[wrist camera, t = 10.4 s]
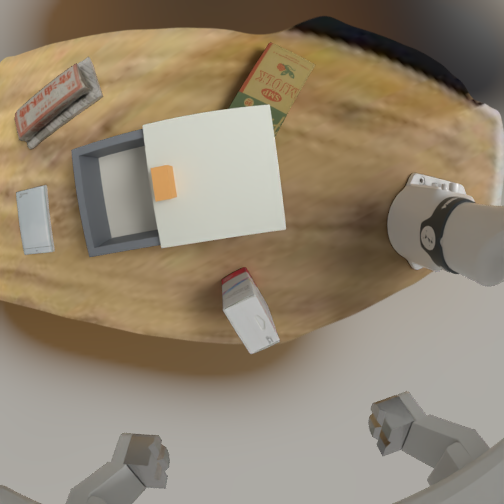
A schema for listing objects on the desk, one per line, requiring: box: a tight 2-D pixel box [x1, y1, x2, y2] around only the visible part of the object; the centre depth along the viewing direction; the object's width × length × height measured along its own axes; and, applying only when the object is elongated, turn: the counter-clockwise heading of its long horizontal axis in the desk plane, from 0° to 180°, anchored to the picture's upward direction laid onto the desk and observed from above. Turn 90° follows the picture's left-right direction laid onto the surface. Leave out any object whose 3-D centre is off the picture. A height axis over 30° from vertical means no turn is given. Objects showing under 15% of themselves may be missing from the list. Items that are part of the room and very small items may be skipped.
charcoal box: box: [72, 129, 161, 257], centre depth 39 cm, size 16×16×8 cm
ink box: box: [221, 267, 280, 354], centre depth 43 cm, size 9×5×12 cm, turn 27°
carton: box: [228, 42, 315, 137], centre depth 39 cm, size 8×16×4 cm, turn 153°
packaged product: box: [15, 57, 103, 149], centre depth 35 cm, size 18×5×10 cm
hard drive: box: [16, 185, 55, 255], centre depth 42 cm, size 2×8×12 cm
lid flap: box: [143, 105, 286, 248], centre depth 34 cm, size 17×17×4 cm
